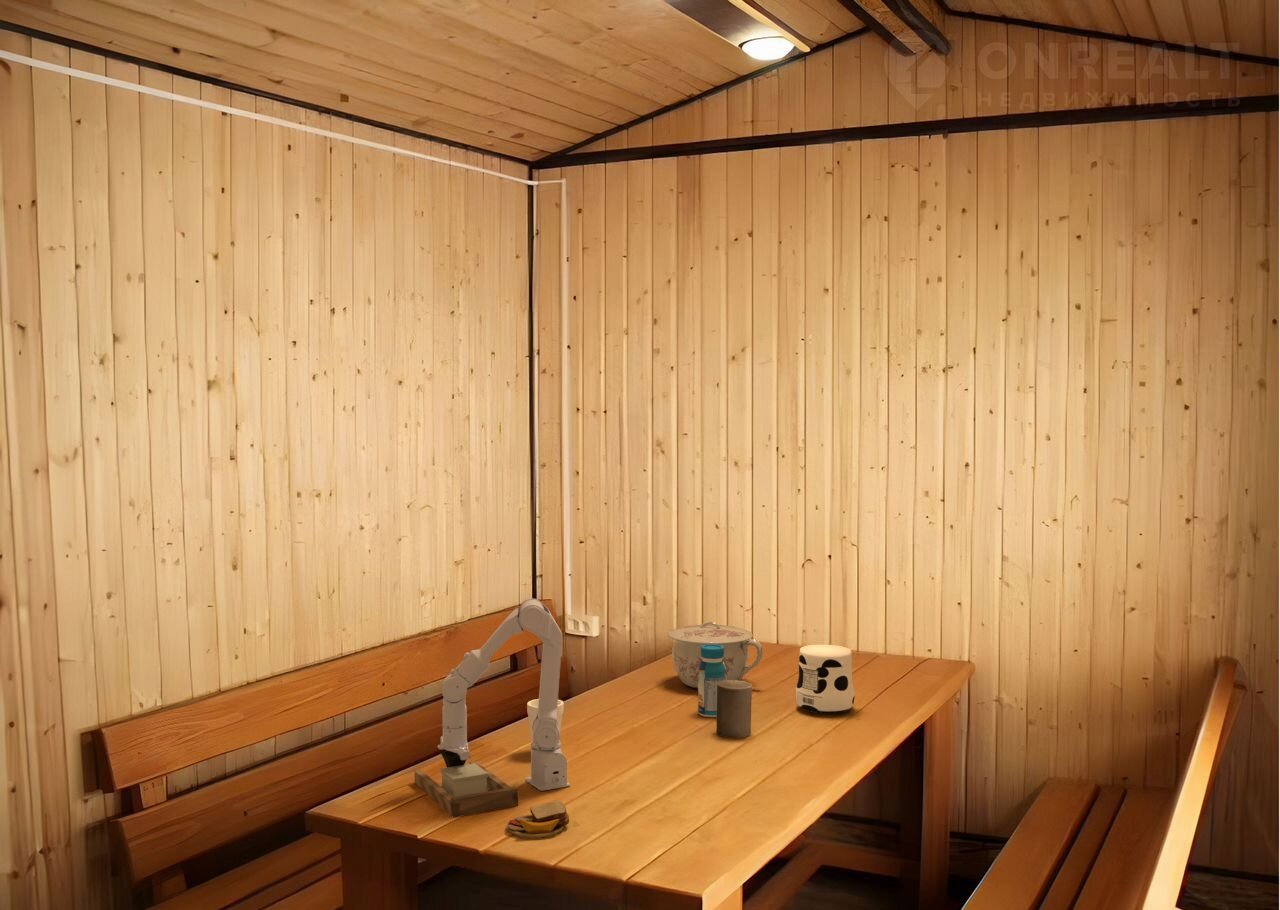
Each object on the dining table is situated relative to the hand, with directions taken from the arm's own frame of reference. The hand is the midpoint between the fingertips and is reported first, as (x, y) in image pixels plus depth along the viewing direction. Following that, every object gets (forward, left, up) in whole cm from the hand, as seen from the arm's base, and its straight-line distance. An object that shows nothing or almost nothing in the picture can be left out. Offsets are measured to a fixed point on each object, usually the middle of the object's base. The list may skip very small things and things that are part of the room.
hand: (455, 781), depth 283 cm
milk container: (+12, -120, -1) cm, 121 cm away
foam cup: (+14, -30, -1) cm, 33 cm away
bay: (-7, 0, -1) cm, 7 cm away
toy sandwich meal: (-34, -6, -2) cm, 35 cm away
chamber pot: (+53, -106, -1) cm, 118 cm away
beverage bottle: (+24, -88, -1) cm, 91 cm away
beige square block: (-6, 0, -1) cm, 6 cm away
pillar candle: (+5, -83, -1) cm, 83 cm away
